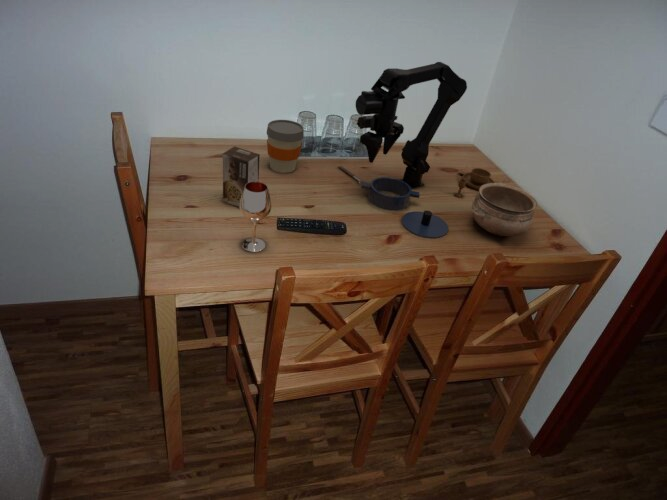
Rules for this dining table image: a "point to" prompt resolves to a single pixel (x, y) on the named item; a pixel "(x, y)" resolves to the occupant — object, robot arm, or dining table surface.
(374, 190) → the saucepan
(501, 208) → the cooking pot
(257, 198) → the wineglass
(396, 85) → the robot arm
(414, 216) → the lid
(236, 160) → the coffee box
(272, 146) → the reusable coffee cup
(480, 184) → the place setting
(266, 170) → the dining table surface
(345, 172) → the fork
